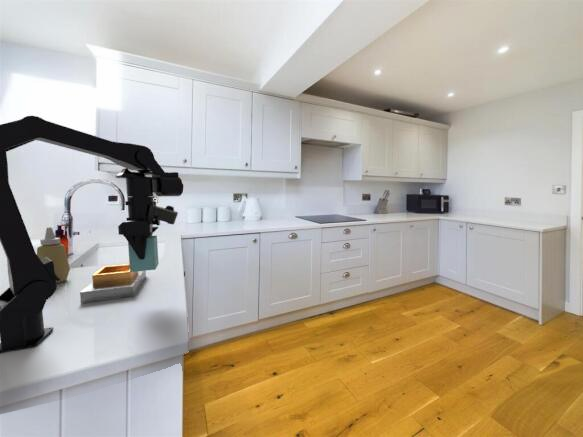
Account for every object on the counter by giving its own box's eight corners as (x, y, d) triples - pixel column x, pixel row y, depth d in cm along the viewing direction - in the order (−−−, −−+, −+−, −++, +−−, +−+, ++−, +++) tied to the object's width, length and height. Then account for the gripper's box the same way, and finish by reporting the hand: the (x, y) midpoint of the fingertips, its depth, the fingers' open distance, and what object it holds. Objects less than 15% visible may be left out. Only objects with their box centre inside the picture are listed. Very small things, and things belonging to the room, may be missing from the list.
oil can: (155, 269, 64) (153, 228, 63) (130, 272, 62) (127, 230, 61) (158, 263, 69) (156, 226, 68) (135, 266, 67) (132, 227, 66)
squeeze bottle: (50, 287, 76) (44, 229, 75) (30, 285, 78) (23, 229, 76) (77, 278, 84) (72, 226, 83) (58, 277, 86) (53, 225, 84)
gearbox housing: (133, 296, 69) (132, 275, 69) (81, 303, 65) (79, 281, 65) (146, 275, 87) (145, 258, 87) (105, 279, 83) (104, 262, 82)
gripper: (171, 196, 58) (175, 262, 59) (177, 196, 75) (179, 247, 77) (115, 197, 54) (120, 267, 55) (134, 196, 71) (138, 250, 73)
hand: (144, 256), depth 65 cm, fingers closed on oil can, 6 cm apart
